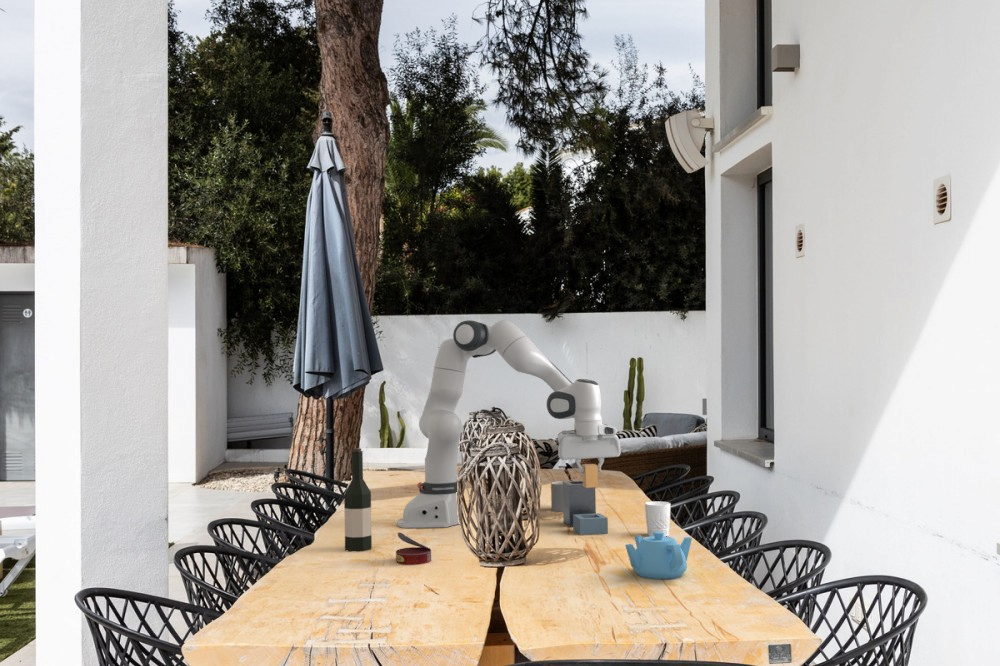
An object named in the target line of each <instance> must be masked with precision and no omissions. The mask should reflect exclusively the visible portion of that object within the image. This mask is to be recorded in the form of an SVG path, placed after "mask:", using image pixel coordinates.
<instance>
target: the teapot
mask: <svg viewBox="0 0 1000 666" xmlns="http://www.w3.org/2000/svg"><path fill="white" fill-rule="evenodd" d="M653 535H654V536H645V537H643V536H642V535H634V541H635V545H636V548H635V546H634V544H632V543H628V544H625V549H626V552H627V556H628V558H629V559H628V560H629V562H630V566H631V568H632V570H633V571H634V572H635V574H636V575H637V576H639V577H642V578H645V579H652V580H653V579H654V580H669V579H676V578H680V577H682V576H683V574H685V572H686V571H687V568H688V566H687V564H688V563H687V561H688V557H689V553H690V548H691V544H692V540H693V538H692V537H689V536H686V537H684V538H683V540H682V542H681V544H679V543H678V542H677V540H676V539H675V538H673V537H672V536H670V537H669V536H667V537H666V536H664V532H653Z"/></svg>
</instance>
